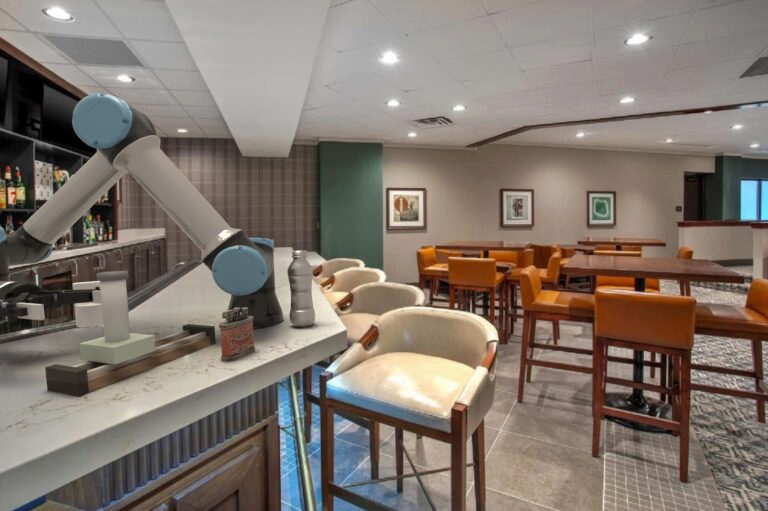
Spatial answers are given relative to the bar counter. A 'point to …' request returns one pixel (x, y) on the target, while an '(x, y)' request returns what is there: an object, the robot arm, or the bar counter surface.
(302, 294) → the plastic bottle
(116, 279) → the carriage
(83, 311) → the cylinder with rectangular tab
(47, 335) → the bar counter surface
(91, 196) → the robot arm
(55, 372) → the rail track
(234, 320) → the lighter
